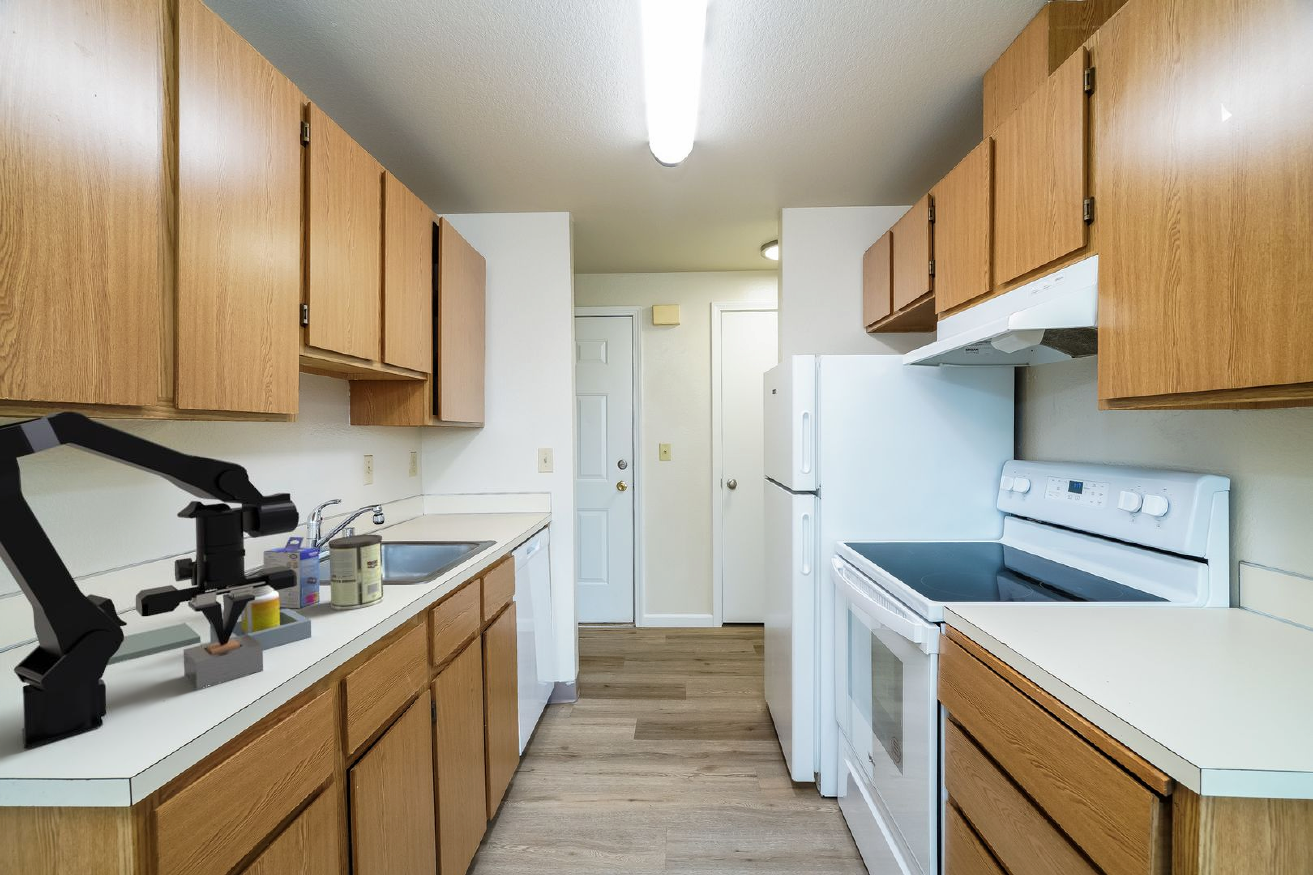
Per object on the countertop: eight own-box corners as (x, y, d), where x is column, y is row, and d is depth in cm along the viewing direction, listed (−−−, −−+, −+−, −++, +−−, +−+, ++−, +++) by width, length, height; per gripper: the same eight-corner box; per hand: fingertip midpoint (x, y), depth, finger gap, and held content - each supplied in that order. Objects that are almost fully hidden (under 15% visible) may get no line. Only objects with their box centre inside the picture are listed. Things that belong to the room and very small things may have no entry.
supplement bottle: (287, 634, 99) (286, 579, 99) (263, 646, 94) (261, 587, 94) (259, 633, 100) (258, 579, 100) (233, 645, 94) (232, 587, 94)
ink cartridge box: (321, 601, 120) (320, 536, 120) (300, 609, 114) (299, 541, 114) (284, 599, 122) (283, 535, 122) (262, 607, 116) (260, 540, 116)
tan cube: (212, 670, 81) (212, 650, 81) (207, 665, 83) (206, 645, 83) (240, 663, 83) (239, 643, 83) (234, 657, 86) (233, 638, 86)
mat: (105, 665, 87) (105, 659, 87) (96, 648, 95) (96, 642, 95) (200, 641, 97) (200, 636, 96) (185, 628, 104) (185, 622, 104)
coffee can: (345, 596, 123) (343, 535, 123) (391, 594, 124) (390, 533, 124) (319, 611, 113) (318, 544, 113) (370, 609, 113) (368, 542, 113)
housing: (229, 659, 89) (228, 640, 88) (210, 642, 96) (210, 625, 96) (311, 636, 98) (310, 620, 98) (288, 623, 105) (287, 608, 105)
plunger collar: (196, 690, 78) (196, 662, 78) (184, 675, 83) (183, 649, 83) (263, 670, 84) (262, 644, 84) (247, 657, 89) (247, 633, 89)
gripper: (274, 529, 95) (276, 617, 95) (128, 548, 81) (130, 651, 81) (296, 535, 88) (299, 630, 88) (141, 557, 74) (144, 670, 74)
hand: (223, 643), depth 83 cm, fingers closed
